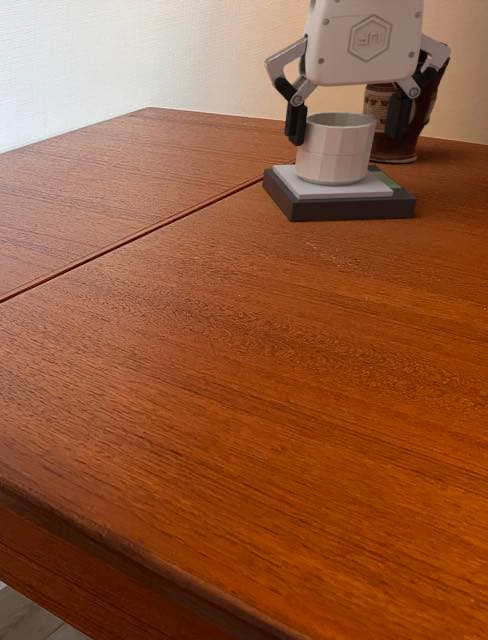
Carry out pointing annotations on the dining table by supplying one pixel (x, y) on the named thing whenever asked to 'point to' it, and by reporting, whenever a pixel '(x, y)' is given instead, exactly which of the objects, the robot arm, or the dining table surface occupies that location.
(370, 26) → the robot arm
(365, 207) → the scale
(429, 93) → the coffee cup
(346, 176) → the white handleless cup
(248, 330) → the dining table surface
